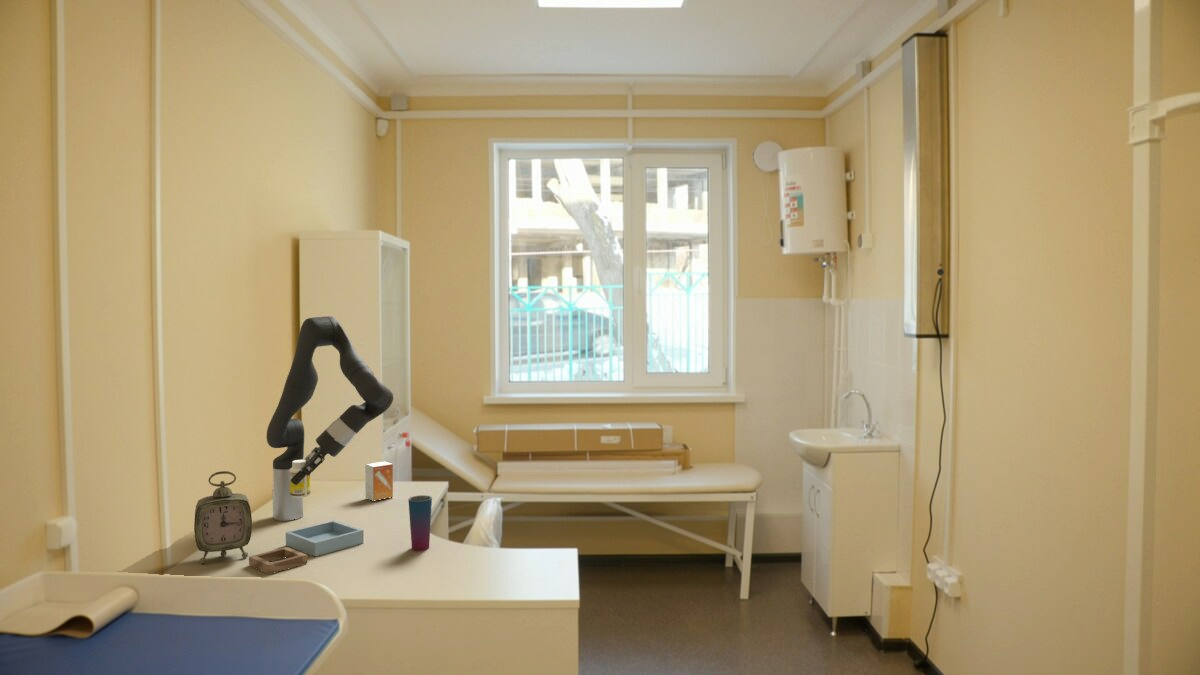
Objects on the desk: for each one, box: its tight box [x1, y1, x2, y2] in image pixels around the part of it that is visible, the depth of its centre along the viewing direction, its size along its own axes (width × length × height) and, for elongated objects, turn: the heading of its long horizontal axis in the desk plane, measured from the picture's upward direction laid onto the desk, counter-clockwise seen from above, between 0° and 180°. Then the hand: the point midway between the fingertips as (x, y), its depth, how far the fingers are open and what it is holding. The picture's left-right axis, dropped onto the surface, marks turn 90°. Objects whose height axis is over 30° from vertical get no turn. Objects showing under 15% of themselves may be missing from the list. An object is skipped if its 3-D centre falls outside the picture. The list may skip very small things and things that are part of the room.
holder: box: [248, 546, 308, 575], centre depth 213 cm, size 11×11×2 cm
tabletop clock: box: [193, 470, 253, 565], centre depth 217 cm, size 14×9×25 cm, turn 118°
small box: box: [364, 461, 394, 501], centre depth 283 cm, size 8×6×13 cm
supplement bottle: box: [289, 459, 312, 499], centre depth 221 cm, size 6×6×10 cm
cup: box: [407, 494, 433, 552], centre depth 227 cm, size 7×7×15 cm
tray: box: [285, 519, 364, 557], centre depth 231 cm, size 16×16×4 cm
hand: (293, 480), depth 220 cm, fingers closed on supplement bottle, 5 cm apart
